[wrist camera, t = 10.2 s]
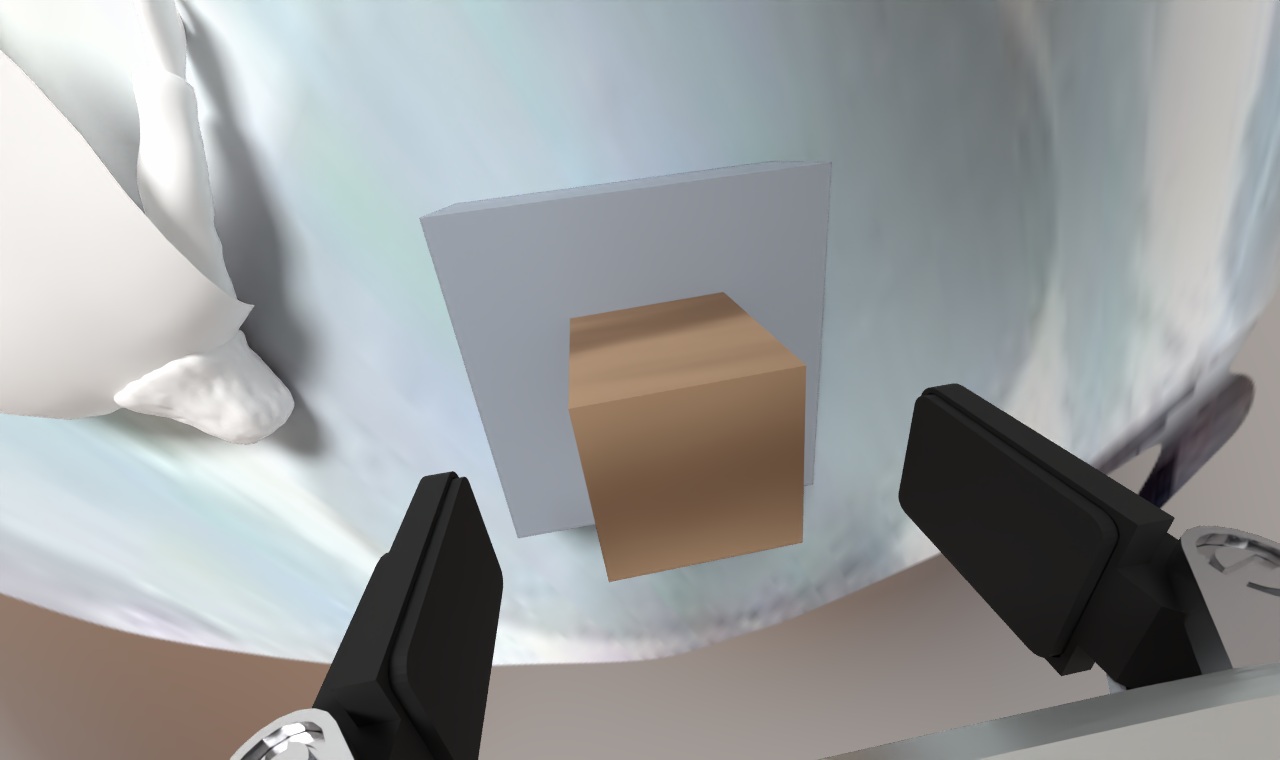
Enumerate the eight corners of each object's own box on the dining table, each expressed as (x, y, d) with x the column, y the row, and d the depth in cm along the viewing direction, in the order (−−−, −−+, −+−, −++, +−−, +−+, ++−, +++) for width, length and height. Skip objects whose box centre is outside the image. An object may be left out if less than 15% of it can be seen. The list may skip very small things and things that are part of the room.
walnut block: (569, 318, 15) (568, 408, 10) (723, 292, 15) (806, 365, 10) (597, 448, 17) (609, 582, 12) (731, 423, 17) (802, 542, 12)
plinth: (458, 202, 18) (419, 218, 13) (768, 161, 18) (831, 162, 14) (528, 463, 23) (517, 538, 18) (767, 422, 24) (813, 484, 19)
